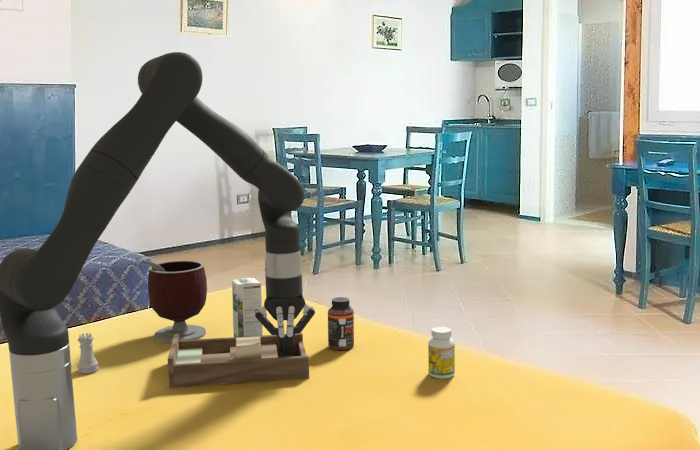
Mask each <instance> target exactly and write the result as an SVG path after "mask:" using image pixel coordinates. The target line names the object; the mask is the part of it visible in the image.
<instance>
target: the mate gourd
mask: <svg viewBox="0 0 700 450" xmlns="http://www.w3.org/2000/svg"><path fill="white" fill-rule="evenodd" d="M141 263H142V264H147V265H149V267H148V270H149V271H148V275H147V294H148V300H149V303H150V306H151V309H152V310H153V311H154V312H155V314H156V315H157V316H158V317H159V318H161V319H166V320H168V321H172V322H173V325H171V326H167V327H163V328H160V329H158V330H157V331H155V332H154V334H153V335H154V339H155V340H156V341H158V342H160V343H167V344H172V340H173V337H174V334H179V341H180V340H196V339H203V337H205V336H206V334H207V330H206V328H205V327H204V326H201V325H197V324H187V322H186V321H187V320H188V319H191V318H193V317H195V316H197V315H199V314H200V313H201V311H202V310H203V308H204V306H206V302H207V296H208V282H207V280H208V279H207V274H206V270H205V267H204V265H205V264H204V263H203V262H201V261H196V260H170V261H163V262H158V263H156V262H154V261H150V260H147V259H142V260H141Z"/></svg>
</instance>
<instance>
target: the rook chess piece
mask: <svg viewBox="0 0 700 450" xmlns="http://www.w3.org/2000/svg"><path fill="white" fill-rule="evenodd" d="M94 339H95V338H94V336H93V335H92V333H89V332H86V333H81V334H79V336H78V339H77V342H78V343H79V344H80V345H79V348H80V355H79V359H78V363H77V370H76V371H77V372H78V373H79V374H81V375H90V374H94V373H96V372H97V371H99V369H100V366H98V365H99V362H98V360H97V358H96V357H95V354H94V349H93V347H94V344H93V341H94Z"/></svg>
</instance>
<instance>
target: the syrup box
mask: <svg viewBox="0 0 700 450" xmlns="http://www.w3.org/2000/svg"><path fill="white" fill-rule="evenodd" d="M231 284H232V285H231V288H232V291H231V292H232V327H233V330H232V331H233V337H245V336H262V335H263V325H262V324H261V323H260V322H259V320H258V319H257V318H256V317H255V311H256V310H259V309H260V308H262V307H263V303H262V298H263V297H262V282H260V281H258V280H257V279H256V278H254V277H243V278H236V279H232V281H231Z"/></svg>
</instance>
